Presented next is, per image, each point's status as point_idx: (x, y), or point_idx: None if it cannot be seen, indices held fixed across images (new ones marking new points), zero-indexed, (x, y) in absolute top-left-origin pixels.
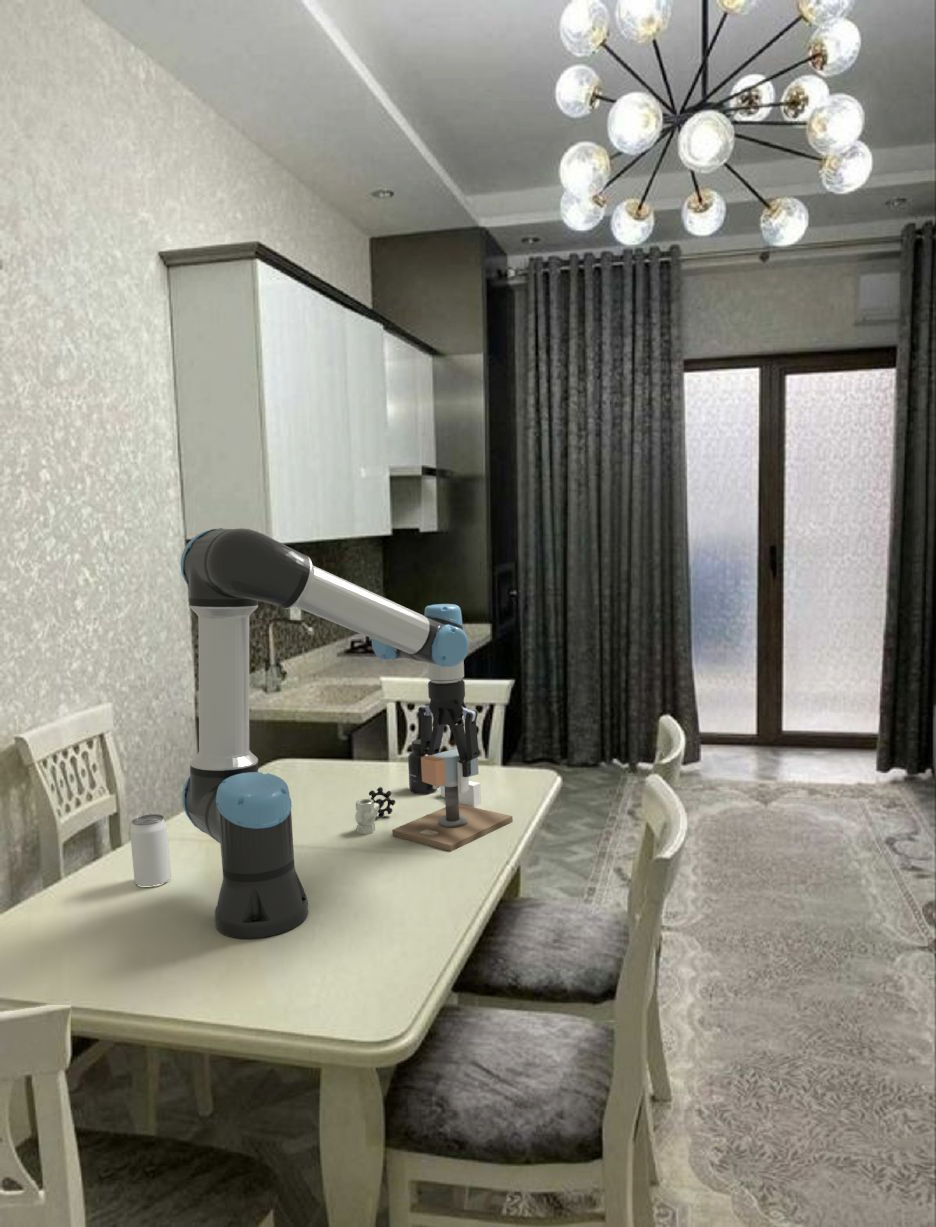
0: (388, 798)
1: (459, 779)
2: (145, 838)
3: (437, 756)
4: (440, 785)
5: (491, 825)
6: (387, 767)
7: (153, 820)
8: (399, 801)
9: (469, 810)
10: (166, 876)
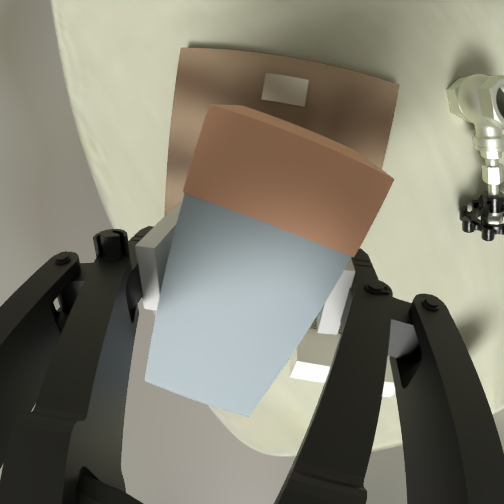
0: (481, 223)
1: (178, 210)
2: None
3: (284, 245)
4: None
5: (166, 209)
6: (496, 401)
7: None
8: (464, 299)
9: None
10: None
